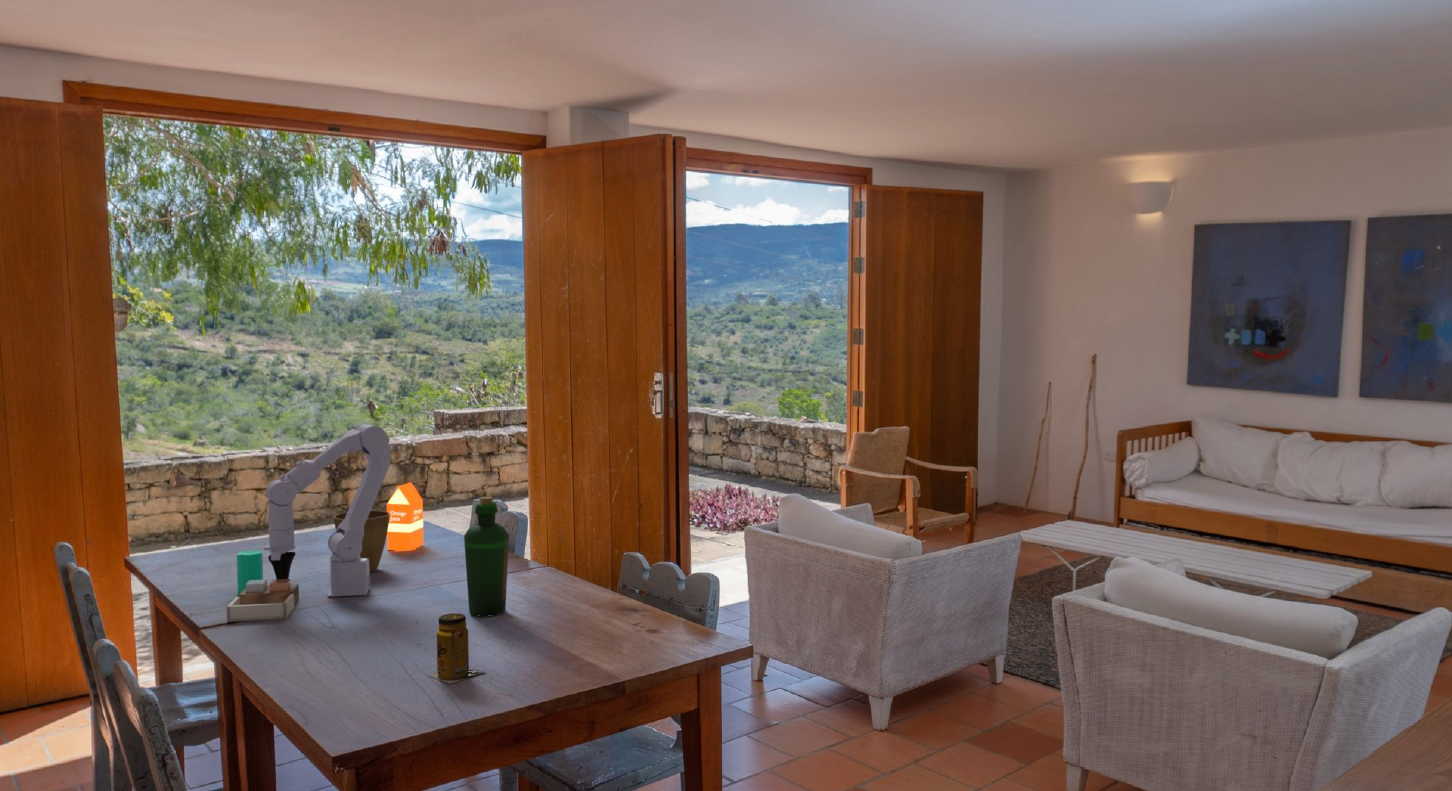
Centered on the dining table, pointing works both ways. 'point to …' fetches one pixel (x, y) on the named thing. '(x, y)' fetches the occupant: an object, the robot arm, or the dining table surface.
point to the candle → (249, 567)
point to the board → (269, 596)
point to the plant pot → (371, 536)
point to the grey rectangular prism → (256, 585)
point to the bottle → (486, 561)
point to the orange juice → (405, 519)
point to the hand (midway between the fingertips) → (282, 582)
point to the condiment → (452, 649)
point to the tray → (259, 610)
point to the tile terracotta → (280, 585)
